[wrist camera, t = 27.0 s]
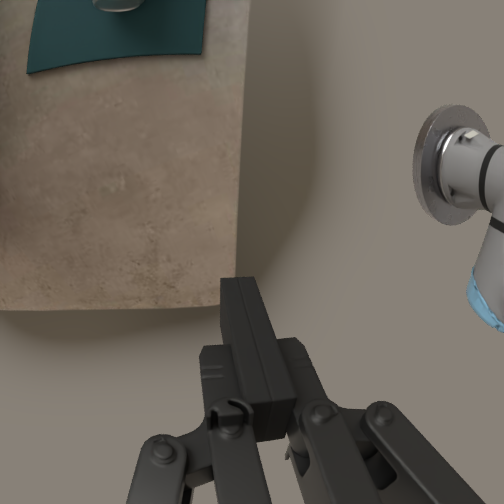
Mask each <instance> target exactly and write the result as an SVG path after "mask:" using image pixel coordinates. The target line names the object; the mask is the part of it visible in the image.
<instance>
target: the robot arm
mask: <svg viewBox="0 0 504 504" xmlns="http://www.w3.org/2000/svg"><path fill="white" fill-rule="evenodd" d="M436 175H437V183H438V187H439V190H440V193H441V195H442V197H443V198H444V200H445V201H446V202H447V203H448V204H450V205H452V206H454V207H456V208H460V209H476V210H487V211H489V212H491V213H492V217H491V220H490V223H489V226H488V229H487V233H486V236H485V238H484V242H483V244H482V247H481V250H480V252H479V255H478V258H477V260H476V263H475V265H474V267H473V268H472V272H471V273H472V274H471V277H470V280H469V283H468V286H467V290H466V291H467V292H466V293H467V297H468V301H469V304H470V305H471V307H472V308H473V310H474V311H475V313H476V314H477V315H478V316H479V317H480V318H481V319H482V320H483V321H484V322H485V323H487V324H488V325H489V326H491V327H492V328H493V327H495V328H496V329H497V330H498V331H500V332H503V333H504V146H503V145H499V144H497V143H495V142H494V141H492V140H491V139H490V138H488V137H487V136H485V135H484V134H482V133H481V132H479V131H478V130H476V129H473V128H470V127H465V126H459V127H456V128H454V129H453V130H451V131H450V132H449V133H448V134H447V136H446V137H445V139H444V140H443V142H442V145H441V147H440V150H439V154H438V159H437V167H436ZM220 327H221V333H222V338H223V344H224V345H210V346H204V347H203V349H202V351H201V353H200V356H199V360H200V373H201V384H202V392H203V403H204V411H205V417H204V420H203V422H202V423H201V425H200V426H199V427H198V428H197V429H196V430H194V431H192V432H190V433H188V434H185V435H182V436H179V437H173V436H171V435H166V434H165V435H164V434H163V435H161V434H159V435H156V436H152V437H150V438H149V439H148V440H147V441H145V442H144V444H143V446H142V448H141V451H140V454H139V458H138V461H137V465H136V469H135V472H134V476H133V479H132V483H131V487H130V490H129V494H128V499H127V501H126V504H192V499H193V493H194V488H195V487H197V486H200V485H203V484H205V483H208V482H211V481H213V480H214V484H215V490H216V496H217V502H218V504H272V502H271V498H270V494H269V491H268V487H267V483H266V480H265V475H264V472H263V468H262V464H261V460H260V456H259V452H258V448H257V444H256V443H257V442H263V441H270V440H276V439H282V438H285V435H286V432H287V435H288V438H289V441H290V443H289V446H288V449H287V451H286V454H285V460H288V459H289V457H290V458H291V461H292V464H293V468H294V471H295V474H296V478H297V481H298V484H299V487H300V490H301V493H302V496H303V500H304V503H305V504H485V503H484V502H483V500H482V499H481V498H480V497H479V496H478V495H477V494H476V493H475V492H474V491H473V490H472V489H471V487H470V486H469V485H468V484H467V483H466V482H465V481H464V480H463V479H462V478H461V477H460V475H459V474H458V473H457V472H456V471H455V470H454V469H453V468H452V467H451V466H450V465H449V463H448V462H447V461H446V460H445V459H444V458H443V457H442V456H441V455H440V454H439V453H438V452H437V451H436V449H435V448H434V447H433V446H432V445H431V444H430V443H429V442H428V441H427V440H426V438H424V436H423V435H422V434H421V433H420V432H419V431H418V430H417V429H416V428H415V427H414V425H413V424H412V423H411V422H410V421H409V420H408V419H407V418H406V417H405V416H404V415H403V414H402V412H401V411H399V409H398V408H397V407H396V406H394V405H393V404H391V403H389V402H386V401H377V402H374V403H372V404H371V405H370V406H369V407H367V409H366V410H365V409H346V408H342V407H339V406H338V405H337V404H335V403H334V402H332V401H331V400H329V399H328V398H327V396H326V393H325V391H324V389H323V387H322V385H321V382H320V380H319V378H318V375H317V373H316V371H315V369H314V367H313V366H312V362H311V360H310V358H309V355H308V353H307V351H306V349H305V346H304V345H303V344H302V343H301V342H299V340H297V338H295V337H293V338H284V339H276V336H275V333H274V331H273V328H272V325H271V323H270V320H269V317H268V314H267V312H266V309H265V306H264V303H263V300H262V297H261V295H260V292H259V289H258V287H257V284H256V281H255V278H254V277H235V278H220Z"/></svg>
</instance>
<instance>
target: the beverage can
mask: <svg viewBox="0 0 504 504" xmlns="http://www.w3.org/2000/svg"><path fill="white" fill-rule="evenodd" d="M92 2H93V4H94V6H95V7H96V8H97V9H100V10H103V11H110V12H121V11H129V10H133V9H135V8H137V7H139V6H140V5H141V4H142V3H143V2H144V0H92Z"/></svg>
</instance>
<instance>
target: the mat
mask: <svg viewBox="0 0 504 504" xmlns="http://www.w3.org/2000/svg"><path fill="white" fill-rule="evenodd" d="M205 8H206V0H144V2H143V3H142V4H141V5H140V6H139V7H137V8H135V9H133V10H129V11H121V12H110V11H103V10H100V9H97V8H96V7H95V6H94V4H93V2H92V0H38V3H37V7H36V12H35V17H34V22H33V27H32V33H31V39H30V46H29V54H28V63H27V73H26V74H32V73H36V72H40V71H44V70H48V69H53V68H58V67H63V66H68V65H73V64H79V63H85V62H92V61H99V60H106V59H115V58H125V57H136V56H152V55H201V53H202V40H203V29H204V18H205Z"/></svg>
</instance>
